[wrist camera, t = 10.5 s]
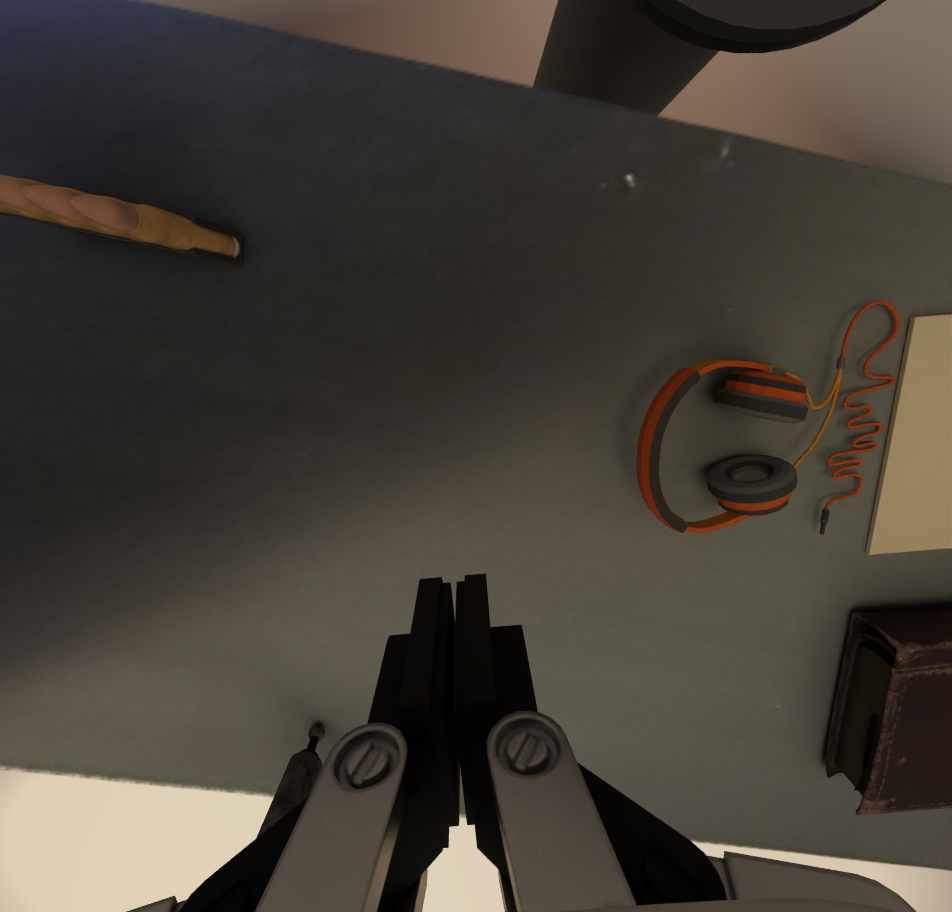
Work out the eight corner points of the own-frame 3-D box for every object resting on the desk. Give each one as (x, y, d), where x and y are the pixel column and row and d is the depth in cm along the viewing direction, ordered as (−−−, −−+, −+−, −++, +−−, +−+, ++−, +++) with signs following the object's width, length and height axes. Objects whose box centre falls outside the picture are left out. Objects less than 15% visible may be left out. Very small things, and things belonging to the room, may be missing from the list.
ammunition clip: (244, 234, 29) (97, 180, 17) (242, 265, 29) (99, 233, 18) (65, 195, 28) (-216, 111, 16) (67, 228, 28) (-204, 169, 17)
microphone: (272, 746, 41) (102, 1127, 22) (288, 687, 39) (117, 1046, 20) (348, 763, 42) (248, 1145, 22) (366, 706, 40) (275, 1068, 21)
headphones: (869, 299, 33) (622, 319, 29) (959, 295, 28) (678, 318, 24) (830, 511, 38) (615, 556, 34) (901, 540, 33) (660, 596, 29)
